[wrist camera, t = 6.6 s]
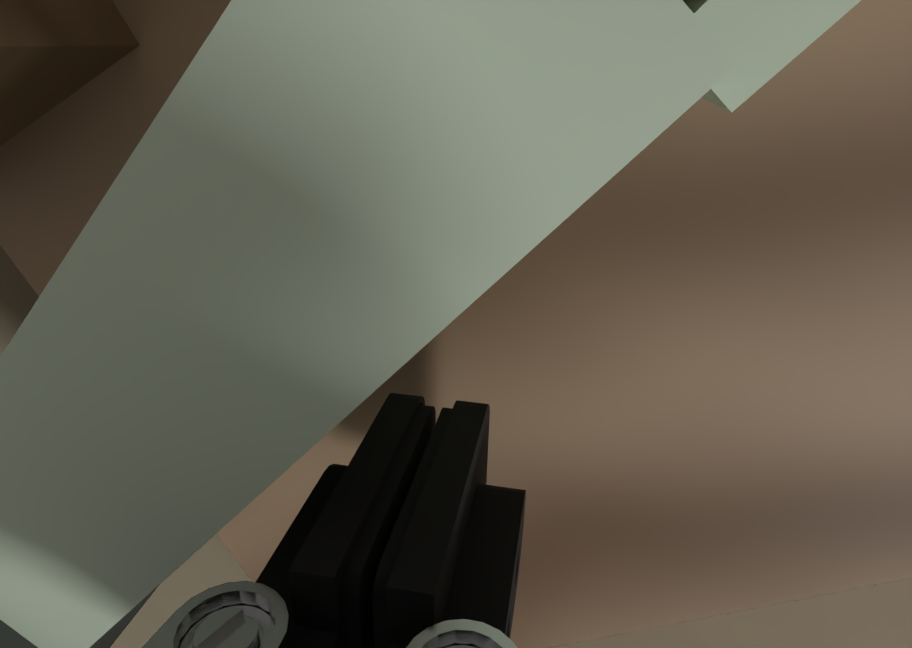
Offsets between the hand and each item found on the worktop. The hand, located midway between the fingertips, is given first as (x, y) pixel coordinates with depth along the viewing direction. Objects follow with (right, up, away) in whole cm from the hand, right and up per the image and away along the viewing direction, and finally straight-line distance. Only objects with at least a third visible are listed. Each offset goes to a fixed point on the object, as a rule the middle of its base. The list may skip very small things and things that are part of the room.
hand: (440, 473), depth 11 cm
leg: (-2, +4, 0) cm, 4 cm away
